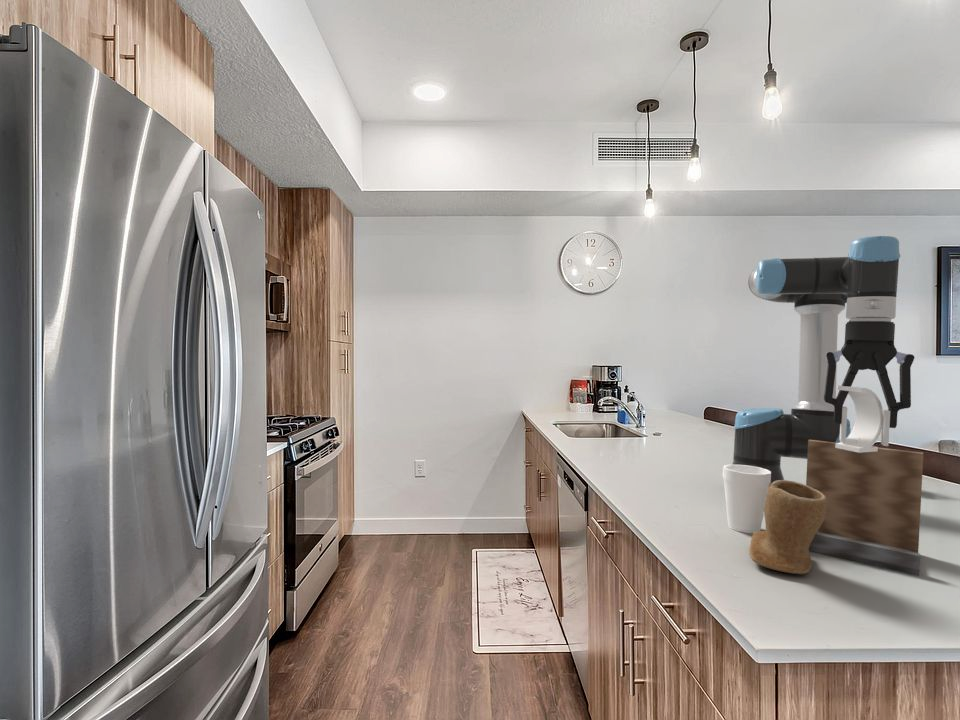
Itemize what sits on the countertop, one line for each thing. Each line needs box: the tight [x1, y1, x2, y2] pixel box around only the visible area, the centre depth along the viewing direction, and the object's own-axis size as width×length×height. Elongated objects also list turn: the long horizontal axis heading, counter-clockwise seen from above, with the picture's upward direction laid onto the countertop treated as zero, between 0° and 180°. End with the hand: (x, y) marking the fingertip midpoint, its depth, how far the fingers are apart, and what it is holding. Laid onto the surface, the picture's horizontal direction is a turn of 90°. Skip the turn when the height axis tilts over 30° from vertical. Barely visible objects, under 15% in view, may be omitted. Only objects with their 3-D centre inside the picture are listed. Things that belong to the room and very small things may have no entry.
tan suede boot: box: [748, 479, 828, 575], centre depth 97 cm, size 15×12×15 cm
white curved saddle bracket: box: [835, 385, 884, 453], centre depth 101 cm, size 5×6×12 cm
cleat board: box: [805, 440, 924, 576], centre depth 104 cm, size 19×14×20 cm
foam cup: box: [722, 464, 771, 534], centre depth 116 cm, size 10×9×13 cm
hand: (863, 442), depth 101 cm, fingers closed on white curved saddle bracket, 6 cm apart
